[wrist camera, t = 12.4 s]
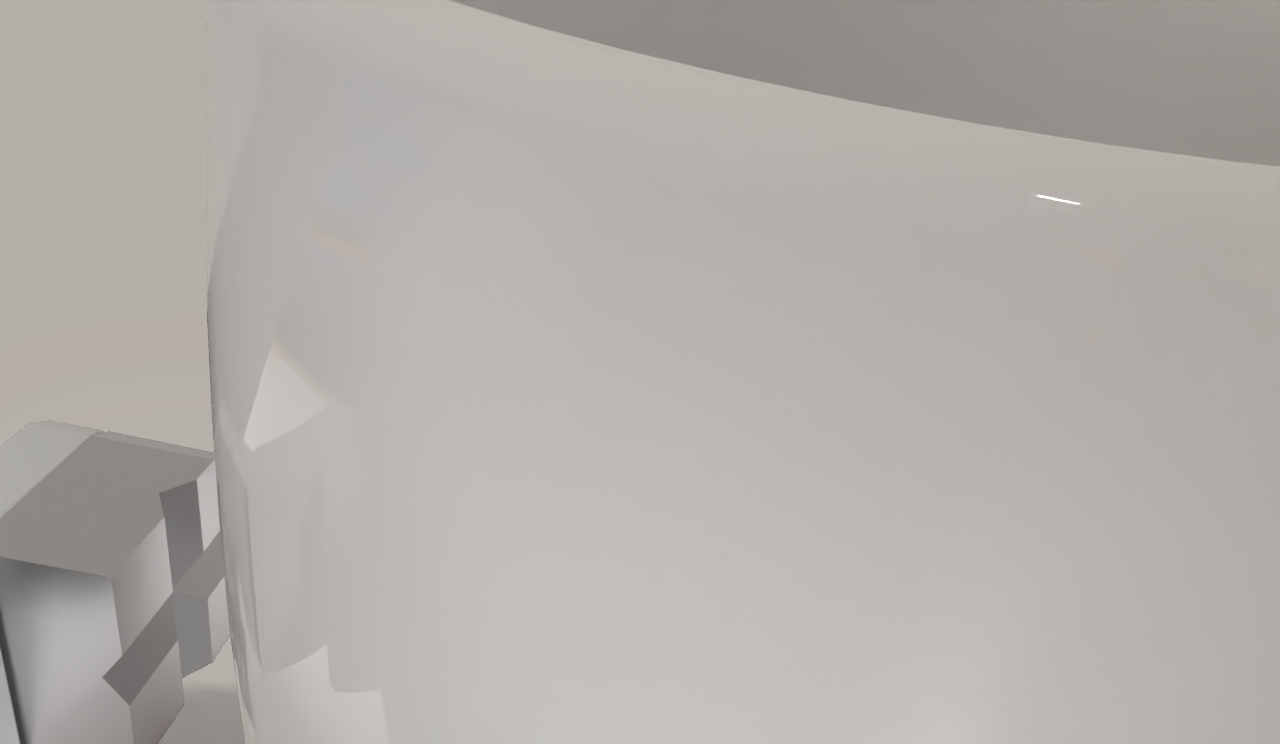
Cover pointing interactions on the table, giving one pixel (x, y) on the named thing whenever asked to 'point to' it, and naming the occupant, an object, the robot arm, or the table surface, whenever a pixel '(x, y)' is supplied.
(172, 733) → the table surface
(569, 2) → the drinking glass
